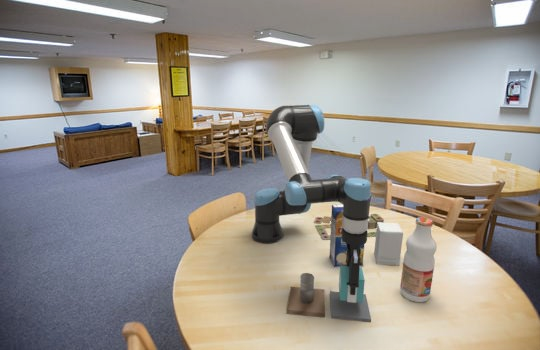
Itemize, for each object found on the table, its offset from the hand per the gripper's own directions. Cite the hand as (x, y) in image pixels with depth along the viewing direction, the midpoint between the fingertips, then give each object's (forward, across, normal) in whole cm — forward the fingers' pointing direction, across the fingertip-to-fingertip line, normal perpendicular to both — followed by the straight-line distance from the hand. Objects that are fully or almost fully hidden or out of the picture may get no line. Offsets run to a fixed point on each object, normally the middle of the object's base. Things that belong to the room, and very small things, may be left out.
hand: (350, 293), depth 99 cm
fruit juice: (+5, +10, -23) cm, 26 cm away
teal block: (0, 0, 0) cm, 0 cm away
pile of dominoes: (+6, +63, -4) cm, 64 cm away
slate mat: (+5, 0, 0) cm, 5 cm away
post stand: (+5, 0, +14) cm, 15 cm away
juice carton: (+5, +28, -1) cm, 29 cm away
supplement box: (+5, +32, -18) cm, 37 cm away
